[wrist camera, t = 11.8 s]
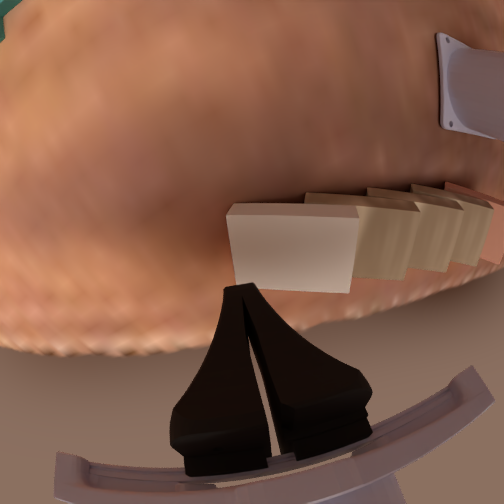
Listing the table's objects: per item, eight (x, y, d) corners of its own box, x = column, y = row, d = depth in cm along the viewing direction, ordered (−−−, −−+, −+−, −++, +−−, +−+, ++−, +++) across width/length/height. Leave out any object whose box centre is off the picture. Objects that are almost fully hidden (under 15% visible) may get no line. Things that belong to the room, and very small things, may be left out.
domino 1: (305, 192, 16) (413, 201, 15) (304, 259, 19) (399, 266, 17) (304, 202, 15) (420, 212, 13) (302, 273, 18) (403, 280, 16)
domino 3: (411, 183, 17) (488, 201, 14) (401, 241, 20) (472, 256, 17) (413, 190, 16) (494, 209, 13) (401, 250, 19) (476, 266, 16)
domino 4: (445, 181, 18) (513, 205, 14) (434, 233, 20) (497, 255, 16) (445, 186, 17) (516, 211, 13) (433, 241, 19) (499, 265, 15)
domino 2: (367, 187, 17) (457, 201, 15) (359, 249, 19) (441, 260, 17) (368, 195, 15) (464, 210, 13) (359, 261, 18) (445, 272, 16)
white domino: (233, 203, 16) (355, 205, 14) (242, 271, 18) (347, 276, 17) (225, 214, 14) (359, 218, 13) (236, 286, 17) (348, 293, 16)
